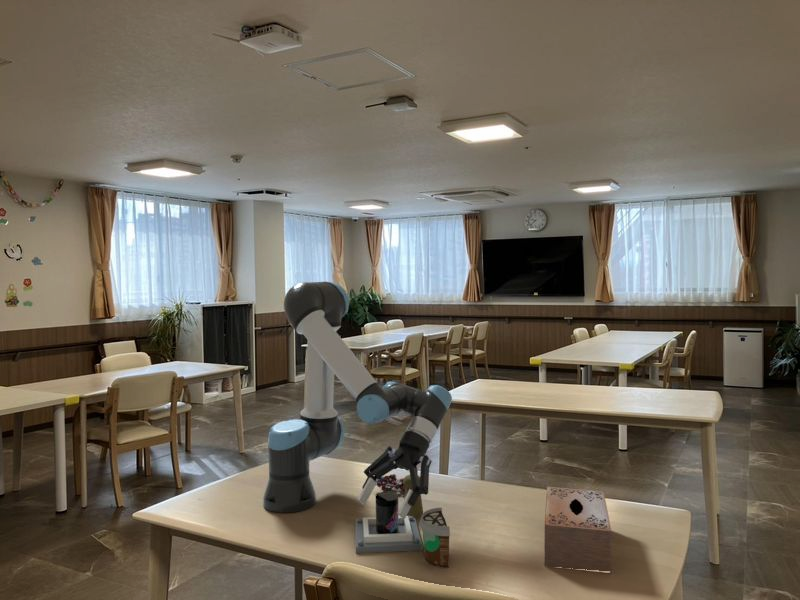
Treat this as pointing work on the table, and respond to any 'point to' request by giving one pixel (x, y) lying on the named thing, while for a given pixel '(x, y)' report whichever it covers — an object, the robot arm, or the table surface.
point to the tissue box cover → (577, 529)
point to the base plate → (387, 536)
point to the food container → (435, 538)
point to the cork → (417, 508)
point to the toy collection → (387, 484)
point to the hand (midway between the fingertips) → (380, 509)
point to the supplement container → (387, 513)
